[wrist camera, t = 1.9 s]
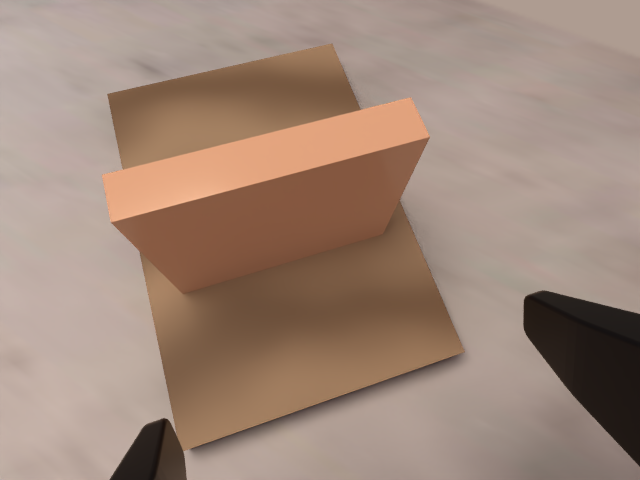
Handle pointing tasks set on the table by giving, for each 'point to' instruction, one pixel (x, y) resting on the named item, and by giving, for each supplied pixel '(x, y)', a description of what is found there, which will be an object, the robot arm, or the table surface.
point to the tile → (268, 195)
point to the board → (283, 280)
